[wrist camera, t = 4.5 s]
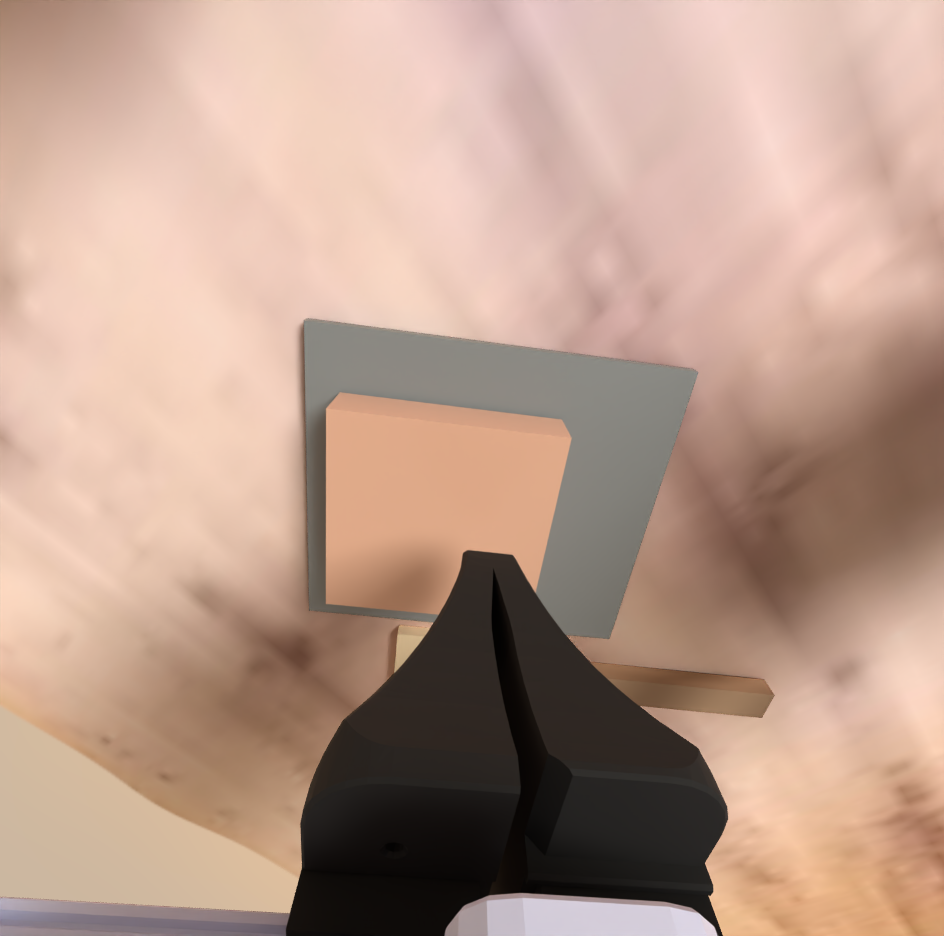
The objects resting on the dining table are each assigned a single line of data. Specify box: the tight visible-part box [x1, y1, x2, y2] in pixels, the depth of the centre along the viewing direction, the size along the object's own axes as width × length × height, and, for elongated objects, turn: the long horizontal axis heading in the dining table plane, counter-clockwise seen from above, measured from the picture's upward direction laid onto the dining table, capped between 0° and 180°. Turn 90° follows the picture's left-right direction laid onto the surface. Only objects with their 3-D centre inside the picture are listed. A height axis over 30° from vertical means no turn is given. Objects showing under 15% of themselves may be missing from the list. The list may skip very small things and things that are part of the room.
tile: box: [326, 392, 572, 615], centre depth 16 cm, size 2×7×7 cm
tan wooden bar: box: [394, 625, 774, 718], centre depth 21 cm, size 16×4×1 cm, turn 83°
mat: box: [304, 318, 698, 639], centre depth 17 cm, size 12×11×1 cm
